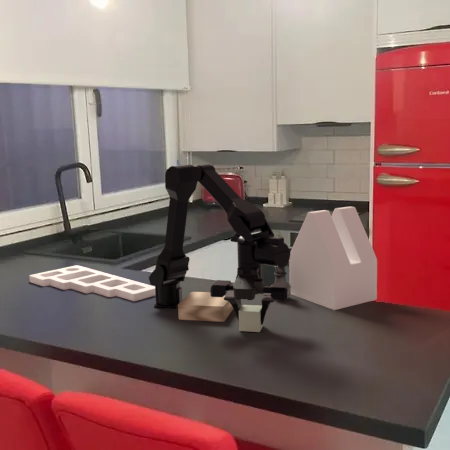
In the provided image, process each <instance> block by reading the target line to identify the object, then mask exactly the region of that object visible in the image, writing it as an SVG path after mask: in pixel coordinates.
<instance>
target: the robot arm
mask: <svg viewBox="0 0 450 450" xmlns="http://www.w3.org/2000/svg"><path fill="white" fill-rule="evenodd" d="M164 176H165V177H164V182H165V186H164V187H165V190H166V192H167V194H168V195H169V205H168V212H167V222H166V228H165V229H166V231H165V238H164V239H165V240H164V247H163V249H162V250H161V252H160V253H159V255H158V256H157V260H156V264H155V268H154V270H152V272H151V274H150V275H149V276H148V281H149V285H151V286H155V294H156V295H155V304H153V307H154V308H170V309H172V308H173V309H175V308H178V304H179V303H180V302H181V301H182V300H183V288H182V286H181V282H185V278H186V275H187V272H188V271H189V265H190V264H189V263H190V257H189V256H187V255H186V253H185V251H184V241H185V234H186V225H187V219H188V218H187V216H188V208H189V202H190V199H191V197H192V195H193V194H194V193H195V192H196V188H197V186H198V183H199V184H200V185H201V186H202V187H203V188H204V189H205V190H206V191H207V192H208V194H209V195H210V196H211V197H212V198H213V200H215V201H216V203H218V205H219V206H220V207H221V208H222V209H223V210H224V213H226V218H227V222H228V223H229V224H230V226H231V228H232V229H233V231H234V233H235V234H234V235H233V236H232V237H231V238H230V239H229V240H230V242H233V243H237V246H236V247H237V274H236V277H235V279H234V280H235V281H234V283H233V284H232V281H231V280H226V279H225V280H222V279H221V280H220V279H217V280H216V281H215V282H214V283H213V284H212V285H211V286H210V291H209V292H210V294H211V297H223V296H224V295H225V297H224V300H225V301H228V302H229V303H230V304H231V305H232V307H233V311H234V314H235V316H236V318H237V321H238V322H239V310H240V308H241V307H242V300H247V301H252V300H253V301H254V300H255V298H256V295H263V297H262V298H261V301H260V302H261V306H262V310H261V325H263V326H264V323H265V320H266V316H267V314H268V310H269V307H270V305H271V304H272V303H274V302H276V301H275V300H287V299H288V297H290V296H291V294H290V293H291V289H290V285H289V282H286V283H282V282H275V281H274V282H273V284H271V285H272V286H271V285H265V282H264V279H263V265H264V266H270V267H274V268H275V267H279V268H283V267H285V268H286V265H288V264H289V259H290V252H291V250H290V248H289V246H288V244H286V243H285V238H284V237H279V236H278V237H276V236H275V234H274V232H273V229H272V228H271V226H270V225H269V223H268V221H267V219H266V216H265V213H264V212H263V211H262V209H260V208H259V207H258V206H256V205H254V203H252V202H249V201H247V200H244V199H243V198H241V196H240V195H239V194H238V193H237V192H236V191H235V190H234V189H233V188H232V187H231V186H230V185H229V184H228V182H227V181H225V179H224V178H223V177H222V176H221V175H220V174H219V173H218V172H217V171H216V168H215V167H214V166H213V164H210V163H206V164H198V165H195V166H194V165H193V164H181V165H171V166H169V167H168V168H167V169H166V171H165V174H164ZM287 301H288V300H287Z"/></svg>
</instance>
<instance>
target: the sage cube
mask: <svg viewBox="0 0 450 450" xmlns="http://www.w3.org/2000/svg"><path fill="white" fill-rule="evenodd" d="M261 310H262V305H258V304H256V305H254V304H242V305H241V308H240V310H239V321H238V331H239V332H250V333H251V332H252V333H253V332H255V333H260V332H261V330H262V328H264V324H263V325H261Z"/></svg>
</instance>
